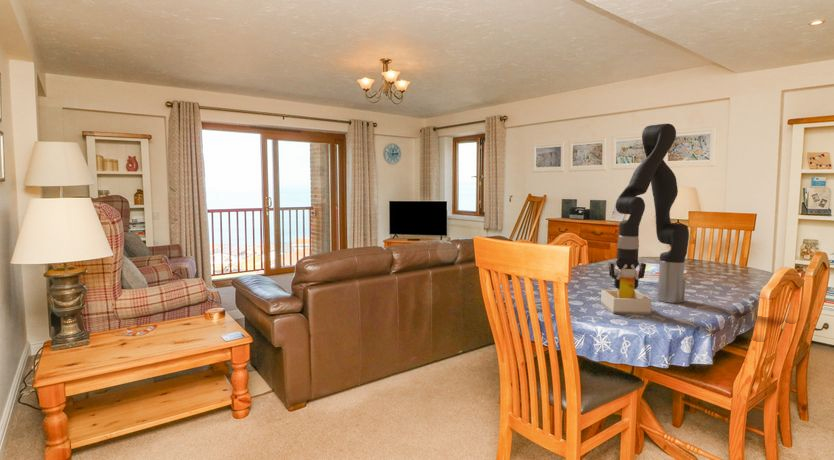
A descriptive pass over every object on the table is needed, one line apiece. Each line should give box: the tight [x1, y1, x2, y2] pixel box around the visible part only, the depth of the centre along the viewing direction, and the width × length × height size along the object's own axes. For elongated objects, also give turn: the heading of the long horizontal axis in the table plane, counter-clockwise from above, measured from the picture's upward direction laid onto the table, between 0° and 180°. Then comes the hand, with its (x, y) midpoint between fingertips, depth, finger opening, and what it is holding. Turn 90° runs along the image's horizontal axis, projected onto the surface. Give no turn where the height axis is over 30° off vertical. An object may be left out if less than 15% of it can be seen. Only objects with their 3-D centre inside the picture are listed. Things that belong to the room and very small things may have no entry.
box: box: [600, 289, 652, 316], centre depth 181 cm, size 14×14×6 cm
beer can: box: [617, 269, 635, 299], centre depth 181 cm, size 6×6×15 cm
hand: (625, 288), depth 181 cm, fingers closed on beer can, 6 cm apart
